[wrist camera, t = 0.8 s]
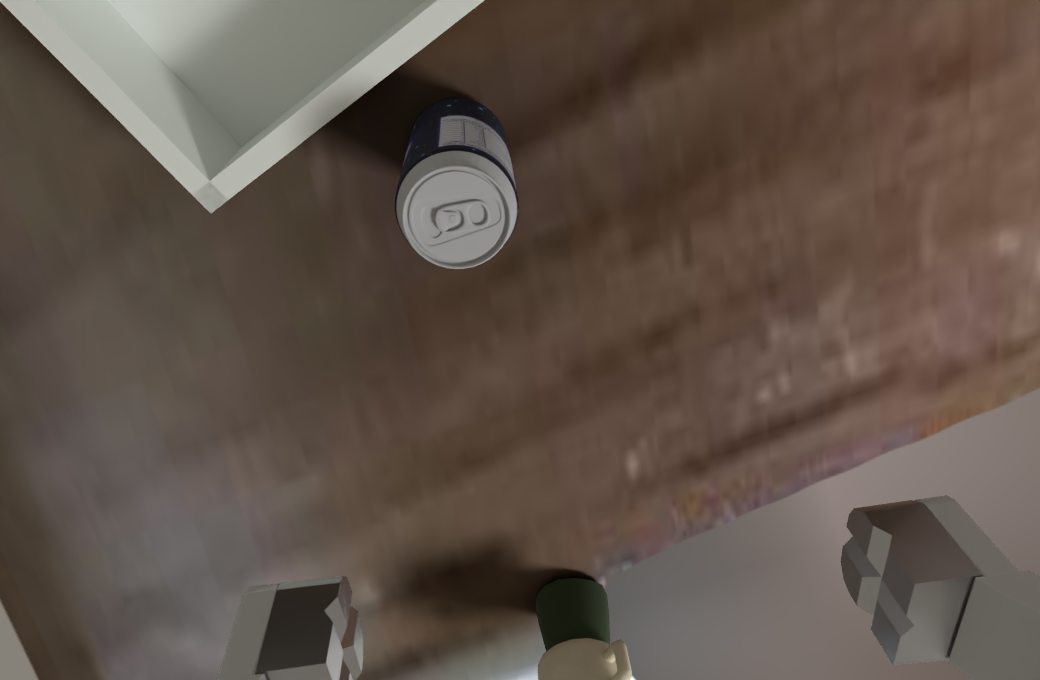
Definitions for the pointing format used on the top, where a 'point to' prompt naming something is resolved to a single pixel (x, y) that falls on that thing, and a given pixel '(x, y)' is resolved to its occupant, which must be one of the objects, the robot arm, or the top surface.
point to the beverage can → (457, 185)
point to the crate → (231, 71)
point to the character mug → (578, 633)
